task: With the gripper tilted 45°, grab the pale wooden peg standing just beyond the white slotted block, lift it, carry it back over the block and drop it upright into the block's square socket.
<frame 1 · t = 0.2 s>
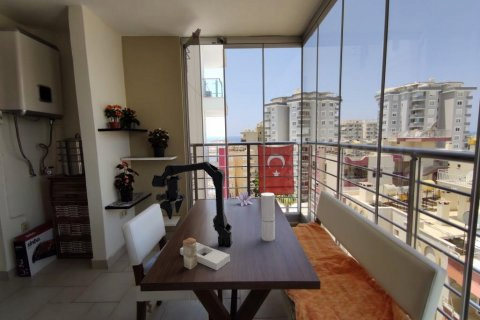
hand: (173, 216, 125), 15 cm above the table, tool pointing down, fingers open, 9 cm apart
cylindrical container: (268, 238, 129), on the table
wooden peg: (190, 265, 103), on the table
water lily: (244, 204, 191), on the table
white slotted block: (204, 257, 110), on the table
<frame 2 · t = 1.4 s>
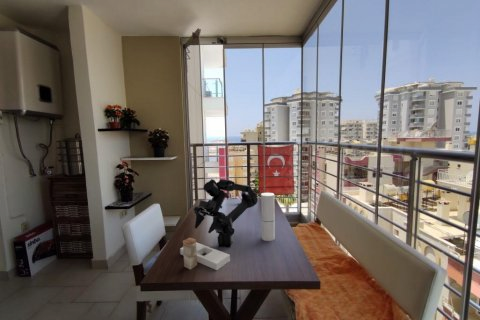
hand: (201, 230, 109), 13 cm above the table, tool tilted 45°, fingers open, 9 cm apart
nothing on the table moved.
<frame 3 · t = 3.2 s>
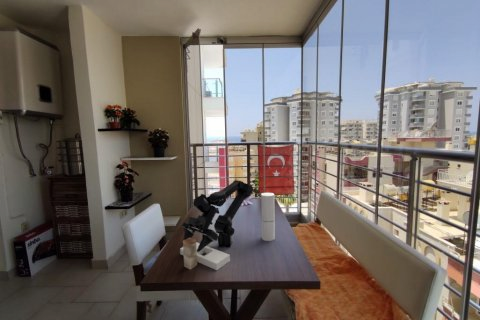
hand: (190, 248, 103), 8 cm above the table, tool tilted 45°, fingers open, 9 cm apart
nothing on the table moved.
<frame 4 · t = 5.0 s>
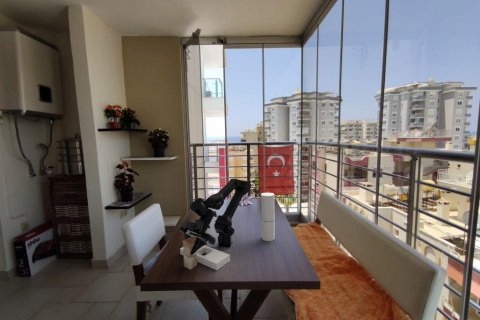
hand: (187, 253, 102), 7 cm above the table, tool tilted 45°, fingers closed on wooden peg, 4 cm apart
wooden peg: (190, 265, 103), on the table, touching gripper
everything else where it was.
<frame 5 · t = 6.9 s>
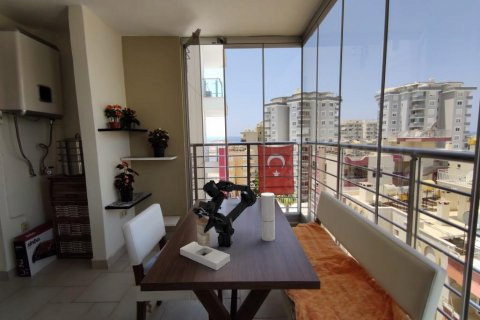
hand: (201, 231, 108), 13 cm above the table, tool tilted 45°, fingers closed on wooden peg, 4 cm apart
wooden peg: (203, 243, 109), point 7 cm above the table, touching gripper
everything else where it was.
when the fingers open (8 cm above the table, at t = 8.8 s): wooden peg drops 1 cm, resting in white slotted block.
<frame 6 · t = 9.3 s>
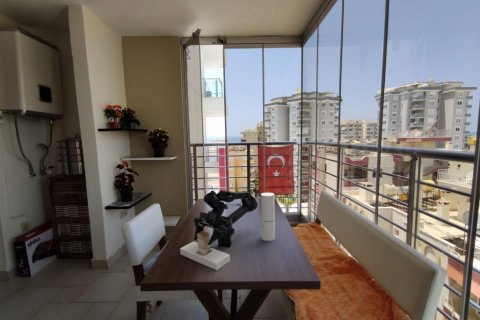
hand: (201, 242, 108), 8 cm above the table, tool tilted 45°, fingers open, 9 cm apart
wooden peg: (204, 257, 110), resting in white slotted block
everything else where it was.
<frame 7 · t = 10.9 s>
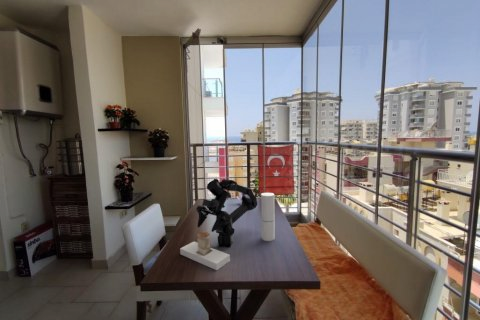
hand: (204, 229, 110), 14 cm above the table, tool tilted 45°, fingers open, 9 cm apart
nothing on the table moved.
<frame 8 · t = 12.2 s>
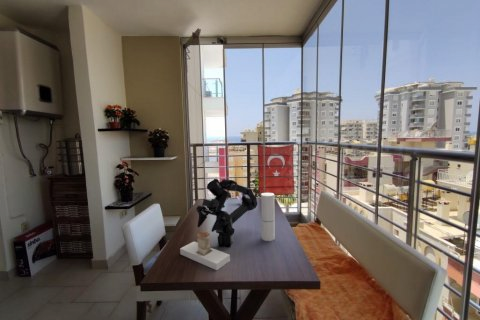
hand: (204, 229, 110), 14 cm above the table, tool tilted 45°, fingers open, 9 cm apart
nothing on the table moved.
at the end: wooden peg 0.0 cm off-centre on the white slotted block, point 0.0 cm above the white slotted block's base; wooden peg tilted 0°; the gripper is holding nothing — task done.
